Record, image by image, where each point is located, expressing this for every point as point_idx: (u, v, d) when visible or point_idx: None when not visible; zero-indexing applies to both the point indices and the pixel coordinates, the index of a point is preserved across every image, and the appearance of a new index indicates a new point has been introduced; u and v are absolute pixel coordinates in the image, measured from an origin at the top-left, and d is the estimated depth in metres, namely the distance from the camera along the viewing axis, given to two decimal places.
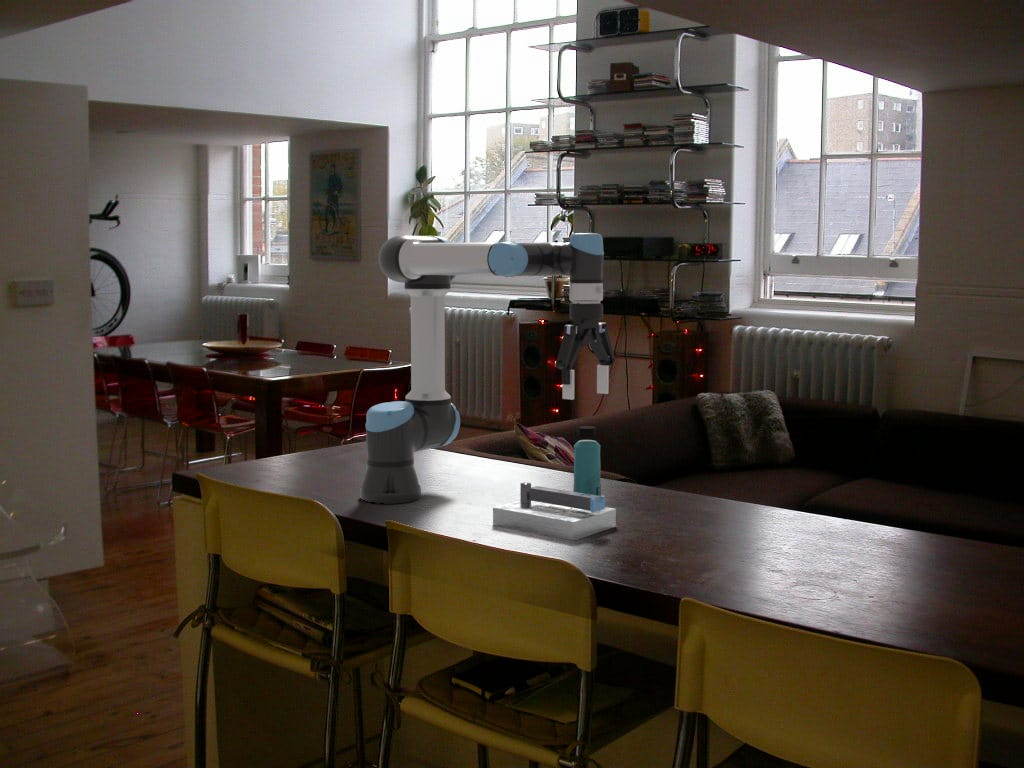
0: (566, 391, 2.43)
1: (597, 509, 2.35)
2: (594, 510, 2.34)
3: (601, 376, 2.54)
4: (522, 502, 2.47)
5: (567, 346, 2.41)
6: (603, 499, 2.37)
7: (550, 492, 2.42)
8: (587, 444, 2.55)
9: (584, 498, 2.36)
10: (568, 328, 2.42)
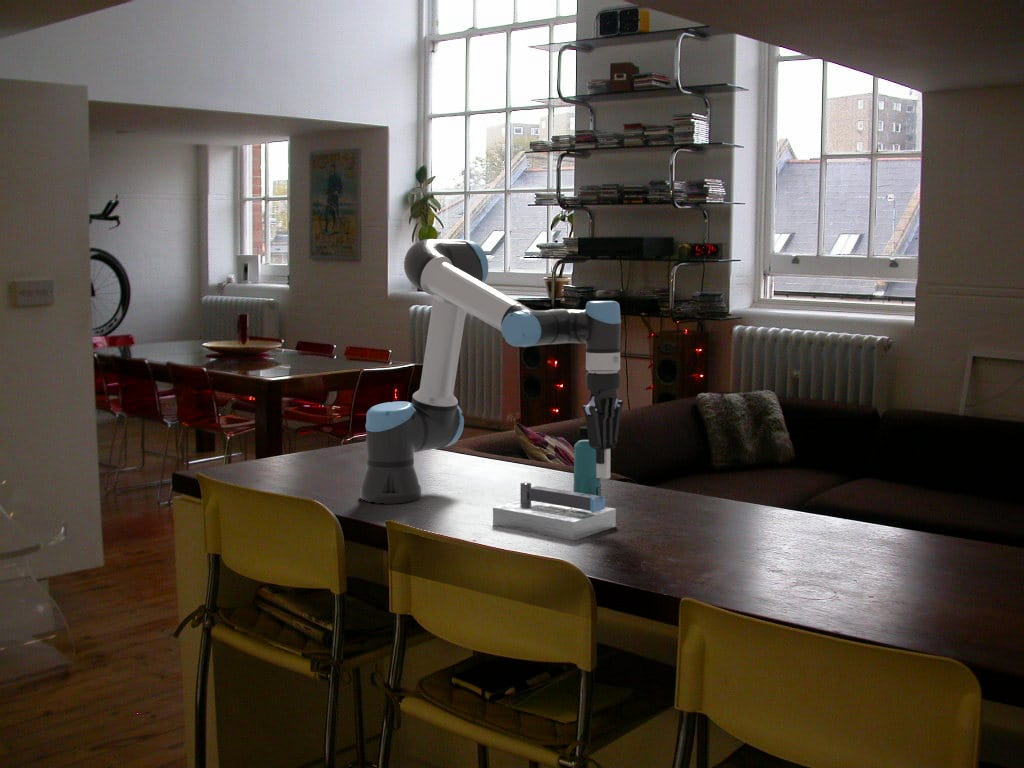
0: (600, 470, 2.42)
1: (597, 509, 2.35)
2: (594, 510, 2.34)
3: None
4: (522, 502, 2.47)
5: (594, 428, 2.37)
6: (603, 499, 2.37)
7: (550, 492, 2.42)
8: (587, 444, 2.55)
9: (584, 498, 2.36)
10: (587, 411, 2.36)
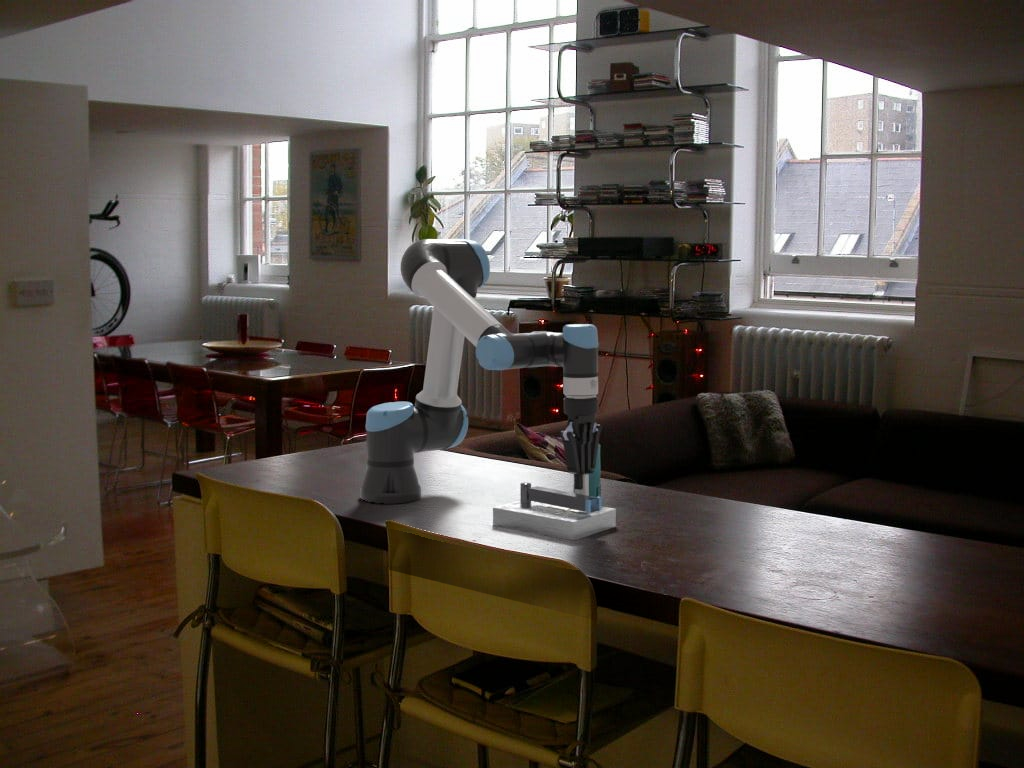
0: None
1: (592, 510, 2.34)
2: (589, 511, 2.33)
3: None
4: (522, 502, 2.47)
5: (572, 453, 2.34)
6: (599, 500, 2.35)
7: (548, 492, 2.41)
8: None
9: (580, 499, 2.35)
10: (565, 436, 2.33)
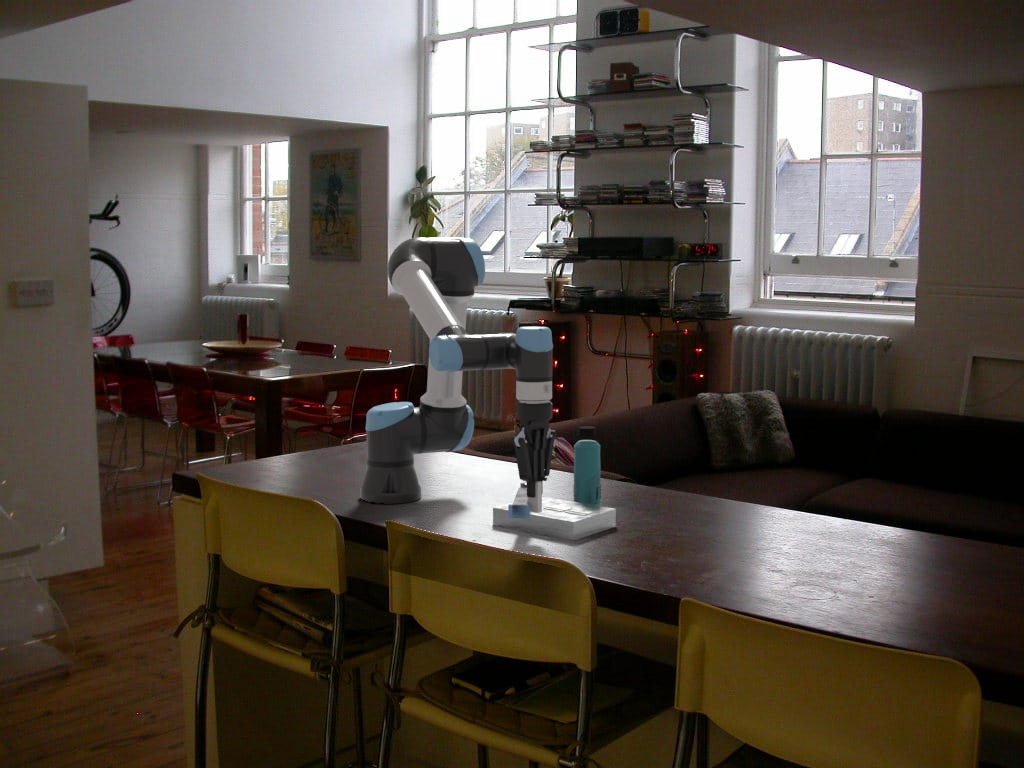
0: (531, 504, 2.31)
1: (515, 516, 2.28)
2: (510, 516, 2.28)
3: None
4: None
5: (523, 460, 2.26)
6: (527, 508, 2.28)
7: (516, 494, 2.40)
8: (587, 444, 2.55)
9: (513, 503, 2.31)
10: (516, 443, 2.25)
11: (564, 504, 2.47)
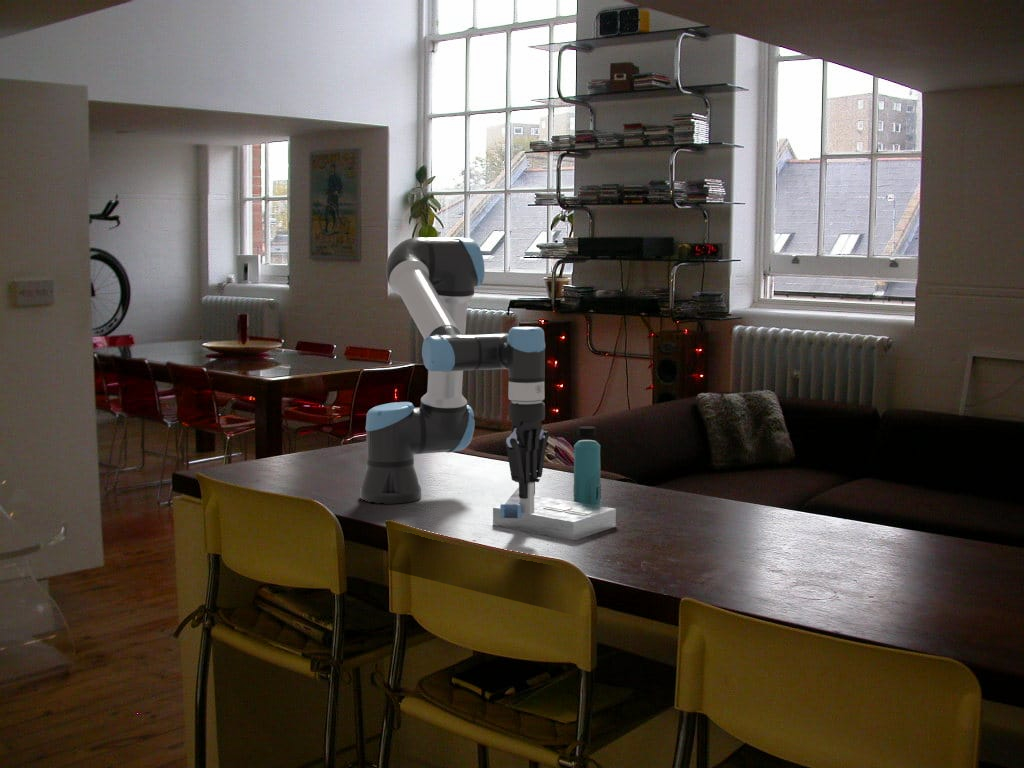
0: (524, 505, 2.30)
1: (507, 516, 2.29)
2: (502, 516, 2.29)
3: None
4: None
5: (515, 461, 2.25)
6: (518, 508, 2.28)
7: None
8: (587, 444, 2.55)
9: None
10: (508, 443, 2.24)
11: (564, 504, 2.47)
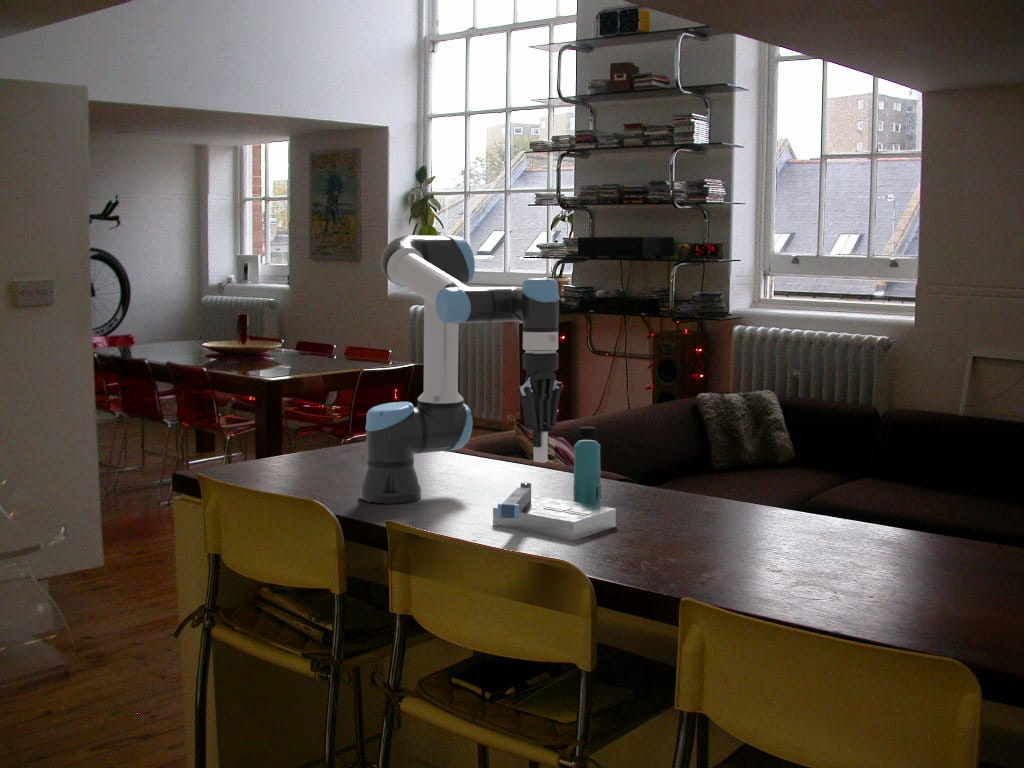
0: (537, 454, 2.34)
1: (504, 516, 2.29)
2: (499, 516, 2.29)
3: None
4: None
5: (529, 409, 2.29)
6: (515, 508, 2.28)
7: None
8: (587, 444, 2.55)
9: None
10: (522, 392, 2.28)
11: (564, 504, 2.47)
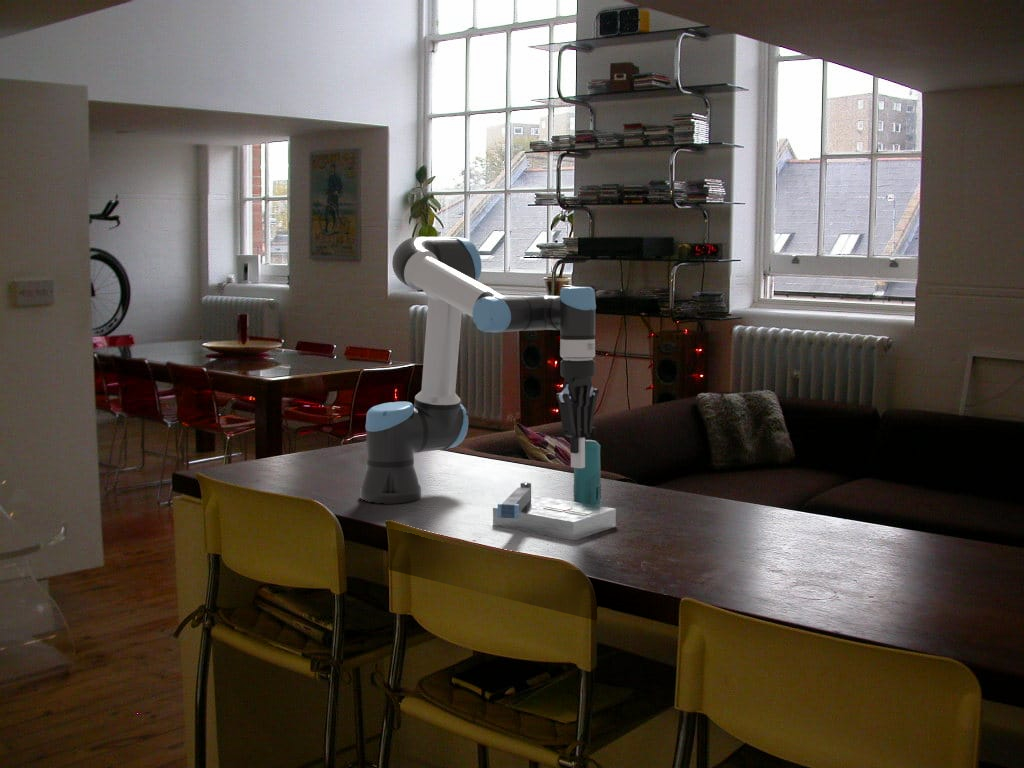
0: (574, 459, 2.37)
1: (504, 516, 2.29)
2: (499, 516, 2.29)
3: None
4: None
5: (567, 416, 2.33)
6: (515, 508, 2.28)
7: None
8: (587, 444, 2.55)
9: None
10: (561, 398, 2.32)
11: (564, 504, 2.47)
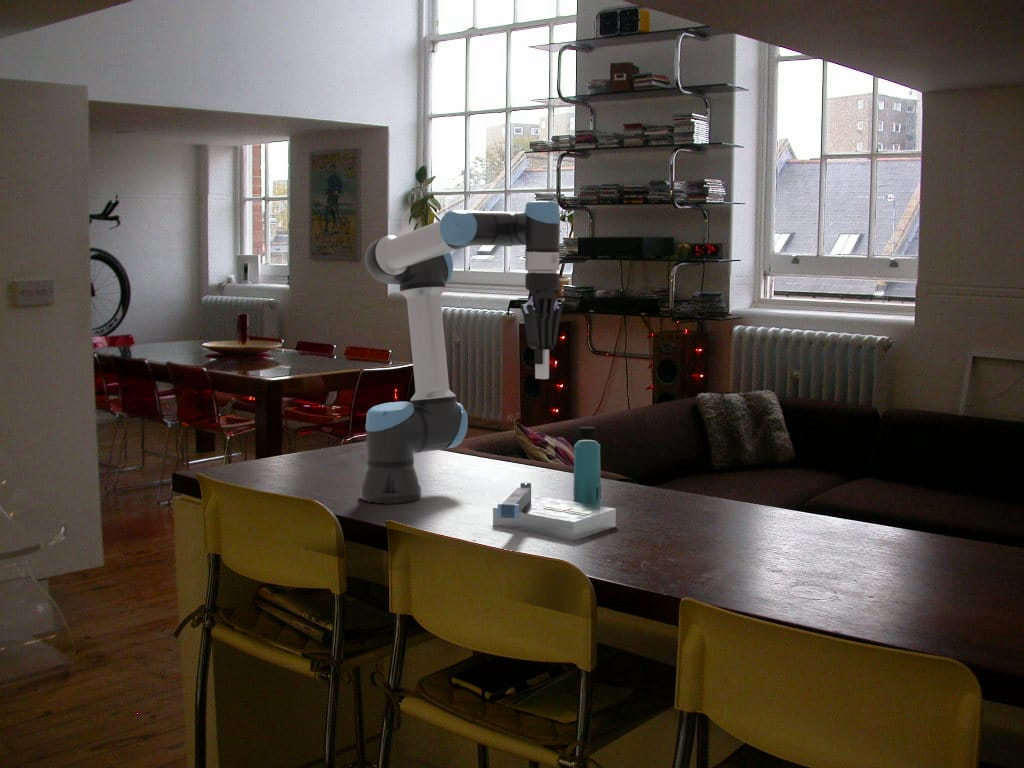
0: (539, 371, 2.44)
1: (504, 516, 2.29)
2: (499, 516, 2.29)
3: None
4: None
5: (532, 327, 2.39)
6: (515, 508, 2.28)
7: None
8: (587, 444, 2.55)
9: None
10: (525, 309, 2.38)
11: (564, 504, 2.47)
